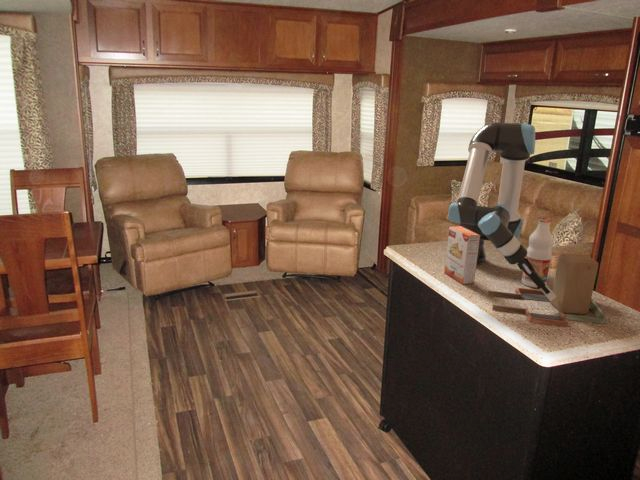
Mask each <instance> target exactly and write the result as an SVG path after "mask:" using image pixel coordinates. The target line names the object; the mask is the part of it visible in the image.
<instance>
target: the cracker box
mask: <svg viewBox="0 0 640 480" xmlns="http://www.w3.org/2000/svg"><path fill="white" fill-rule="evenodd" d="M479 242H480V235H478V234H476V233H474V232H472V231H470V230H468V229H466V228H464V227H462V226H460V225H458V226H457V225H455V226H454V225H453V226H449V229H448V237H447V248H446V254H445V255H446V256H445V264H444V273H445V274H446V275H448V276H449V277H451V278H452V279H454V280H455V281H457V282H458V283H460V284H461V285H468V284H474V283H475V277H476V270H477V265H478V264H477V257H478V249H479Z"/></svg>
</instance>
